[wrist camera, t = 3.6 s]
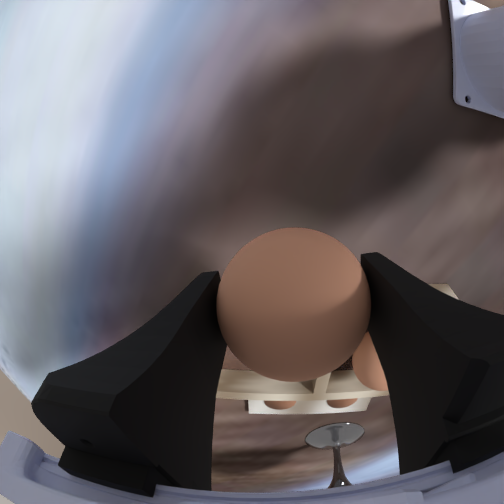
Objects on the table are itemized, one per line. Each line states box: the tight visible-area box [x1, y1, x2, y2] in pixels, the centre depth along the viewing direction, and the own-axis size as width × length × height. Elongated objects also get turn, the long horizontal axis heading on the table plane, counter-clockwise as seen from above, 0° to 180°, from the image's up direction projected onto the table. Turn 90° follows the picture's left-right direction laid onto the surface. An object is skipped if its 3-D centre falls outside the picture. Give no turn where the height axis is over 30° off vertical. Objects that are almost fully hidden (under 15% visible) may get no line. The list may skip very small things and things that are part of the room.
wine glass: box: [305, 423, 364, 488], centre depth 24 cm, size 8×8×15 cm
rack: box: [216, 284, 459, 414], centre depth 23 cm, size 19×16×2 cm
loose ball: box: [216, 227, 371, 382], centre depth 10 cm, size 5×5×5 cm
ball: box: [352, 332, 388, 391], centre depth 21 cm, size 5×5×5 cm
